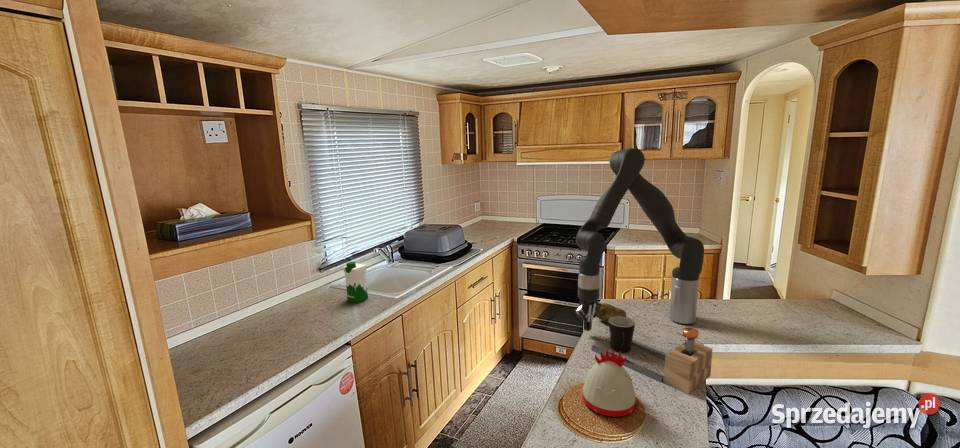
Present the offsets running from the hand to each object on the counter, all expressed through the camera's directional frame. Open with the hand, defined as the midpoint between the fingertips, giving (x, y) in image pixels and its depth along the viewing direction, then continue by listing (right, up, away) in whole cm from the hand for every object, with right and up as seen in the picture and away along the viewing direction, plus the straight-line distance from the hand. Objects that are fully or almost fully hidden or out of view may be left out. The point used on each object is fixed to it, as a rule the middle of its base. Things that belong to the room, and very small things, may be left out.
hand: (587, 329), depth 145 cm
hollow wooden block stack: (+22, -7, -28) cm, 36 cm away
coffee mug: (+8, -5, -10) cm, 14 cm away
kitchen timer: (-4, -10, -36) cm, 38 cm away
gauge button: (+22, -1, -29) cm, 36 cm away
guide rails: (+12, -5, -15) cm, 20 cm away
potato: (+13, 0, +12) cm, 18 cm away
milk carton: (-97, +2, +42) cm, 106 cm away
